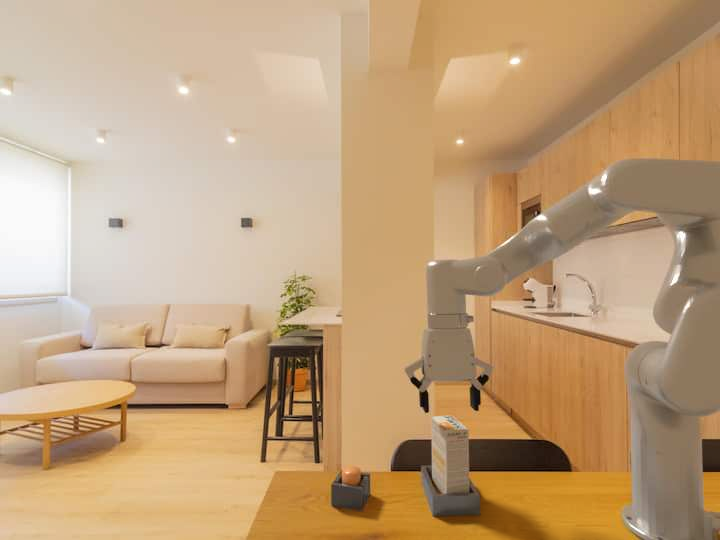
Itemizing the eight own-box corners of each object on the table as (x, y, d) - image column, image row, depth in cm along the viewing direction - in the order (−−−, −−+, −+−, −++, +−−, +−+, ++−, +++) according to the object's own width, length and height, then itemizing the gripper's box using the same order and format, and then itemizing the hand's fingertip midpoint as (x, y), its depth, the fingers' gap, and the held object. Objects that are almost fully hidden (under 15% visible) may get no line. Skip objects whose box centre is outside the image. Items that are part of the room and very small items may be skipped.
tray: (461, 481, 81) (461, 464, 81) (480, 515, 70) (479, 495, 70) (421, 482, 81) (421, 465, 81) (432, 516, 69) (432, 496, 70)
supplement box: (471, 500, 72) (470, 429, 72) (446, 503, 71) (445, 430, 71) (453, 478, 80) (452, 414, 80) (431, 480, 79) (430, 415, 79)
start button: (362, 488, 76) (362, 467, 76) (357, 498, 73) (357, 476, 73) (345, 485, 77) (345, 465, 77) (339, 495, 74) (339, 474, 74)
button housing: (370, 493, 77) (370, 473, 77) (361, 511, 71) (361, 489, 71) (341, 489, 79) (341, 469, 79) (331, 505, 73) (331, 484, 73)
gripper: (483, 319, 80) (487, 402, 80) (400, 321, 80) (403, 405, 79) (497, 322, 73) (501, 414, 72) (406, 325, 72) (409, 418, 72)
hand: (450, 409), depth 76 cm, fingers open, 9 cm apart
